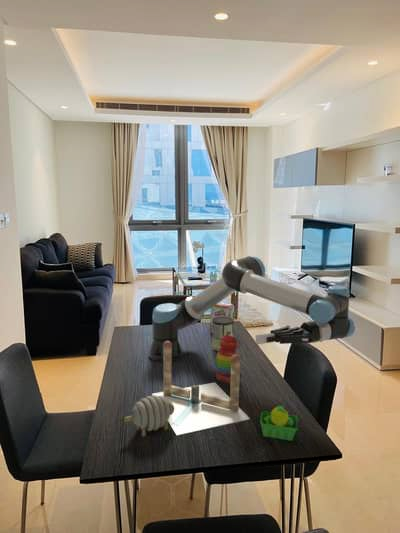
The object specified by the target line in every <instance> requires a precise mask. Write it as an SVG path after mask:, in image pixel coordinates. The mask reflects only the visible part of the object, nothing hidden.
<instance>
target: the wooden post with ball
mask: <svg viewBox="0 0 400 533" xmlns="http://www.w3.org/2000/svg"><path fill="white" fill-rule="evenodd" d="M172 362H173V361H172V343H171V342H170V341H165V342H164V343H163V362H162V363H163V370H162V371H163V372H162V379H163V382H162V384H163V385H162V388H163V390H162V392H163V395H164V396H170V395H175V396H179V397H183V398H187V399H189V398H190V390H189V389H185V388H186V387H180V386H176V385H172ZM198 385H199V384H194V385H191V386H190V387H191V402H192V403H198V402H199V386H198Z"/></svg>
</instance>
